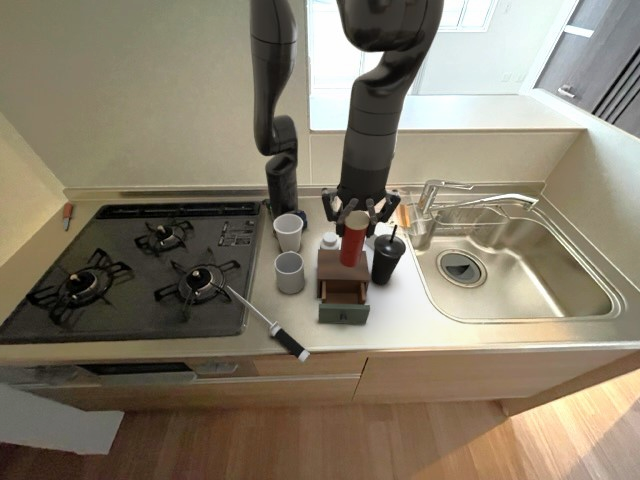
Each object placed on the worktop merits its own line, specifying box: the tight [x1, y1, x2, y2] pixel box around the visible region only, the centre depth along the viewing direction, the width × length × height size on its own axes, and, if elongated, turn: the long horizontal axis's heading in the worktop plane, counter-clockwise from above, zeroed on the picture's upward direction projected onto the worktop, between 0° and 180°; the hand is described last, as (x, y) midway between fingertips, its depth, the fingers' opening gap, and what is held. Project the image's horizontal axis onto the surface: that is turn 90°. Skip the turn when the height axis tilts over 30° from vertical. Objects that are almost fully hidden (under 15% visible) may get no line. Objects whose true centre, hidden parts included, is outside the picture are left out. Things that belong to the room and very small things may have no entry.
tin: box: [339, 210, 370, 267], centre depth 52 cm, size 5×5×12 cm
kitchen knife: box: [62, 202, 73, 230], centre depth 86 cm, size 16×1×2 cm
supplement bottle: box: [319, 231, 340, 250], centre depth 73 cm, size 5×5×10 cm
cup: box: [274, 251, 305, 295], centre depth 68 cm, size 7×10×9 cm
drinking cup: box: [370, 224, 407, 287], centre depth 65 cm, size 8×8×20 cm
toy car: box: [272, 209, 308, 239], centre depth 82 cm, size 6×12×6 cm
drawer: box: [317, 281, 371, 325], centre depth 61 cm, size 10×11×7 cm
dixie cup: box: [272, 214, 303, 253], centre depth 76 cm, size 8×8×10 cm
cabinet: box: [316, 248, 371, 299], centre depth 67 cm, size 10×13×9 cm
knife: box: [227, 285, 311, 364], centre depth 59 cm, size 26×2×5 cm, turn 52°
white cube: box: [364, 222, 397, 251], centre depth 79 cm, size 6×6×6 cm
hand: (353, 234), depth 51 cm, fingers closed on tin, 4 cm apart
